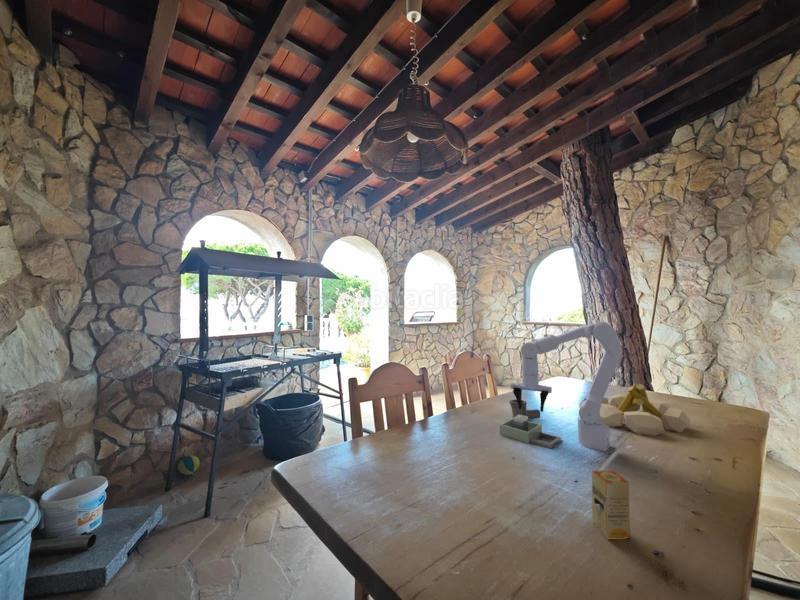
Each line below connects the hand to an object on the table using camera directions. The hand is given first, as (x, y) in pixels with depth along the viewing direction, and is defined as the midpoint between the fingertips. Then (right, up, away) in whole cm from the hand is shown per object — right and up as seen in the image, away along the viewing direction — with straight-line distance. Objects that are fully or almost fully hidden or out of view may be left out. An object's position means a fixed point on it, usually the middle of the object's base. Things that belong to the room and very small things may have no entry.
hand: (531, 409), depth 125 cm
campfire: (+50, -11, +16) cm, 54 cm away
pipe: (+5, -11, +19) cm, 22 cm away
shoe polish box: (-4, -9, -53) cm, 54 cm away
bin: (-4, -10, -1) cm, 11 cm away
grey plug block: (-4, -10, -1) cm, 10 cm away
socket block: (+2, -10, -7) cm, 12 cm away
